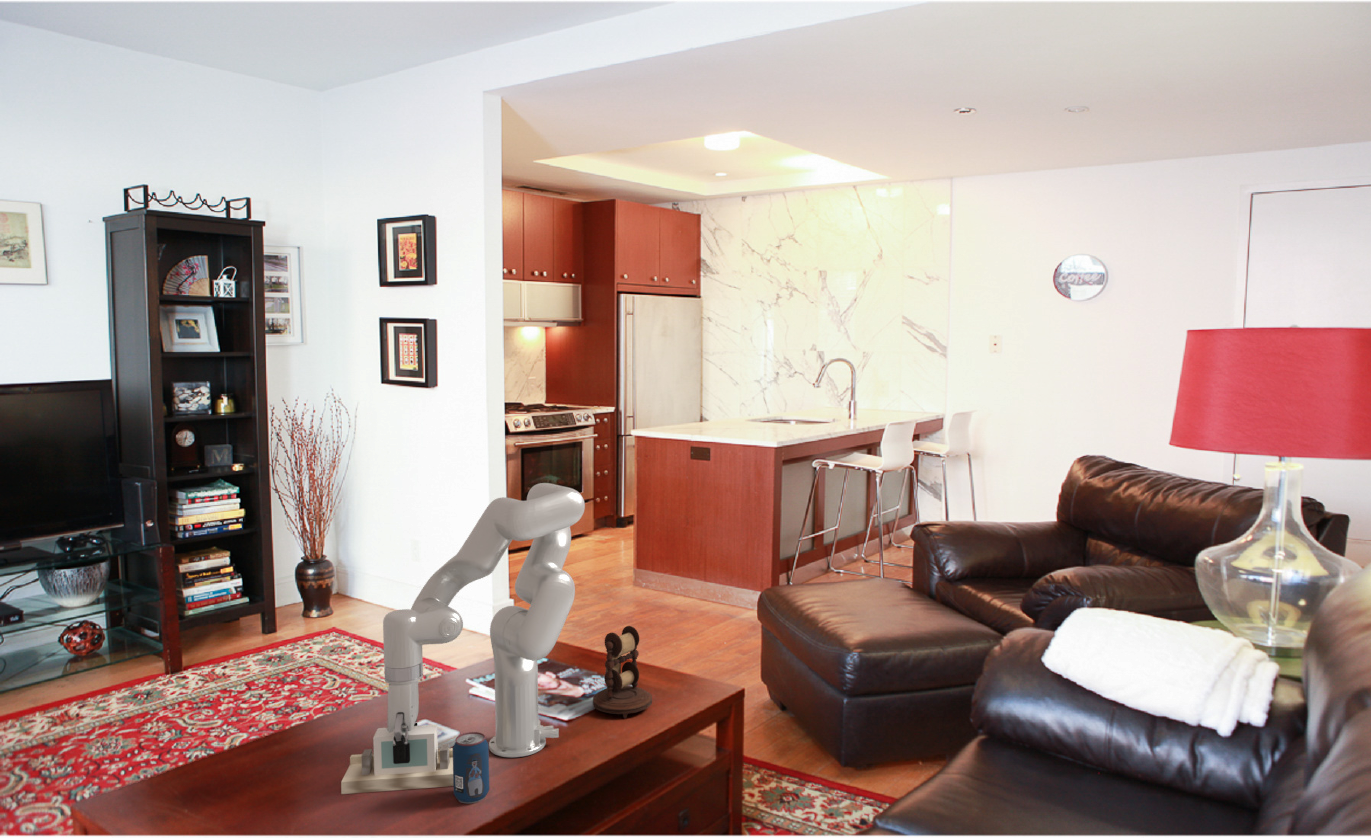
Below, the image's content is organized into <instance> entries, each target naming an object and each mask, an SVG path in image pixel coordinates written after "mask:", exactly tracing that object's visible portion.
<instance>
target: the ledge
mask: <svg viewBox="0 0 1371 838" xmlns="http://www.w3.org/2000/svg"><path fill="white" fill-rule="evenodd" d="M340 783H341V784H340V788H341V789H340V790H341V792H340V794H341V795H348V794H362V793H375V792H390V791H403V790H404V791H405V790H415V789H417V790H418V789H429V788H430V789H431V788H442V787H446V788H447V787H453V747H451V748H450V743H444V744H443V743H442V744H441V746H440V748H438V764H437V767H436V770H435V771H434V772H420V773H405V774H391V775H377V776H374V752H373V748H370V749H369V748H367V749H364V750H363V752H362V753H360V754H359V753H358V754H351V755H350V757H349V766H348V768H347V769H346V772H345V774H344V776H343V777H342V780H341V781H340Z"/></svg>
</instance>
